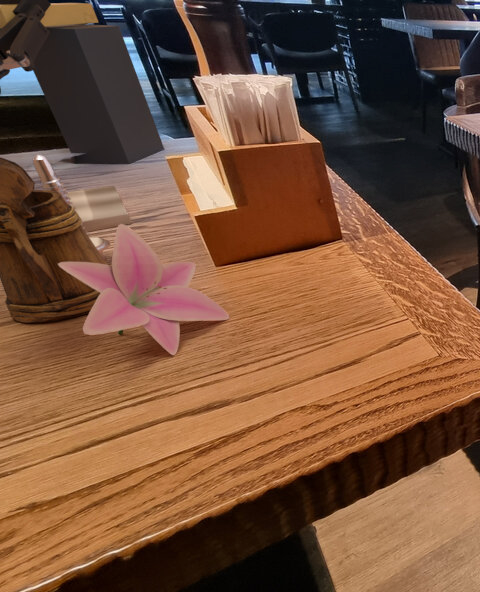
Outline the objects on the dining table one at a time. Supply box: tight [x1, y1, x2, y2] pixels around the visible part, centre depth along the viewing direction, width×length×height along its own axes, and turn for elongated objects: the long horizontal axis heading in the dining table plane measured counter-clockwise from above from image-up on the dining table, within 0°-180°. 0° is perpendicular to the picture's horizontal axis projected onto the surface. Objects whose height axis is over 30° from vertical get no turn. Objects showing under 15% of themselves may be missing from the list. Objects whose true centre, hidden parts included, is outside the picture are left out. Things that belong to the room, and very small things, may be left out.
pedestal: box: [32, 24, 165, 165], centre depth 96 cm, size 11×9×22 cm
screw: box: [32, 154, 111, 261], centre depth 59 cm, size 13×5×5 cm
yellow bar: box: [0, 2, 99, 29], centre depth 85 cm, size 19×3×3 cm, turn 7°
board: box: [66, 185, 133, 233], centre depth 75 cm, size 16×8×2 cm, turn 44°
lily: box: [58, 224, 230, 356], centre depth 48 cm, size 12×12×10 cm
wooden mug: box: [0, 157, 109, 324], centre depth 49 cm, size 9×14×18 cm, turn 35°
